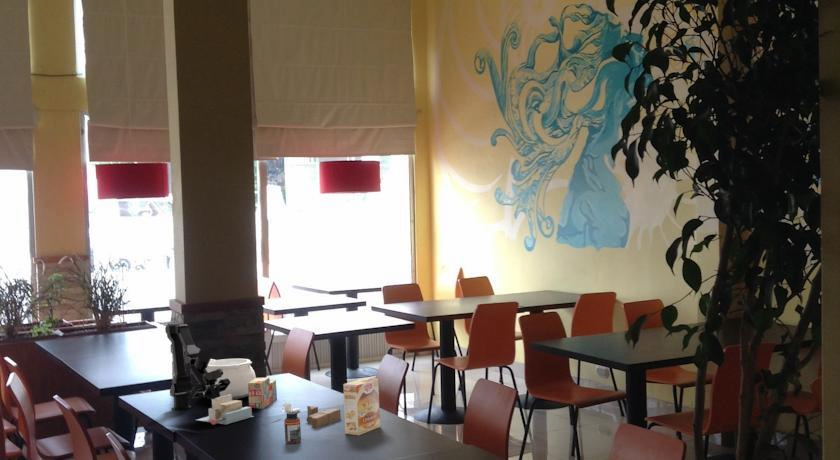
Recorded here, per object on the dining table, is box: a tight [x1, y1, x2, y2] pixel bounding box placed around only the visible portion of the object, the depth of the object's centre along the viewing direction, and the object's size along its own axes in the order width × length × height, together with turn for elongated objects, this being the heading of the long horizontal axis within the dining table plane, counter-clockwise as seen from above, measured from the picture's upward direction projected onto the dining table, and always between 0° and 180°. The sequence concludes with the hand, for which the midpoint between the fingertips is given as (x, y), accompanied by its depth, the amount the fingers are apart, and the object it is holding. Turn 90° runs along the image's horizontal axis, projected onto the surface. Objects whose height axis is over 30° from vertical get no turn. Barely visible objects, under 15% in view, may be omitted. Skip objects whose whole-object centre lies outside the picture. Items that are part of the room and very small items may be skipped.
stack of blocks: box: [248, 376, 278, 410], centre depth 397 cm, size 21×6×12 cm, turn 171°
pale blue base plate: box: [196, 406, 255, 426], centre depth 364 cm, size 19×22×5 cm
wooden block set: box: [306, 405, 341, 429], centre depth 357 cm, size 17×6×18 cm
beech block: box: [219, 399, 243, 418], centre depth 364 cm, size 4×9×7 cm, turn 145°
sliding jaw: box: [208, 394, 233, 421], centre depth 367 cm, size 4×14×9 cm, turn 145°
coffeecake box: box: [342, 377, 381, 436], centre depth 339 cm, size 15×7×20 cm, turn 148°
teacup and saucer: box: [281, 402, 301, 413], centre depth 377 cm, size 9×8×4 cm
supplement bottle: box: [283, 411, 302, 445], centre depth 325 cm, size 6×6×11 cm
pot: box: [202, 358, 257, 400], centre depth 420 cm, size 29×26×17 cm
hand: (220, 403), depth 368 cm, fingers closed, pressing on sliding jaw
